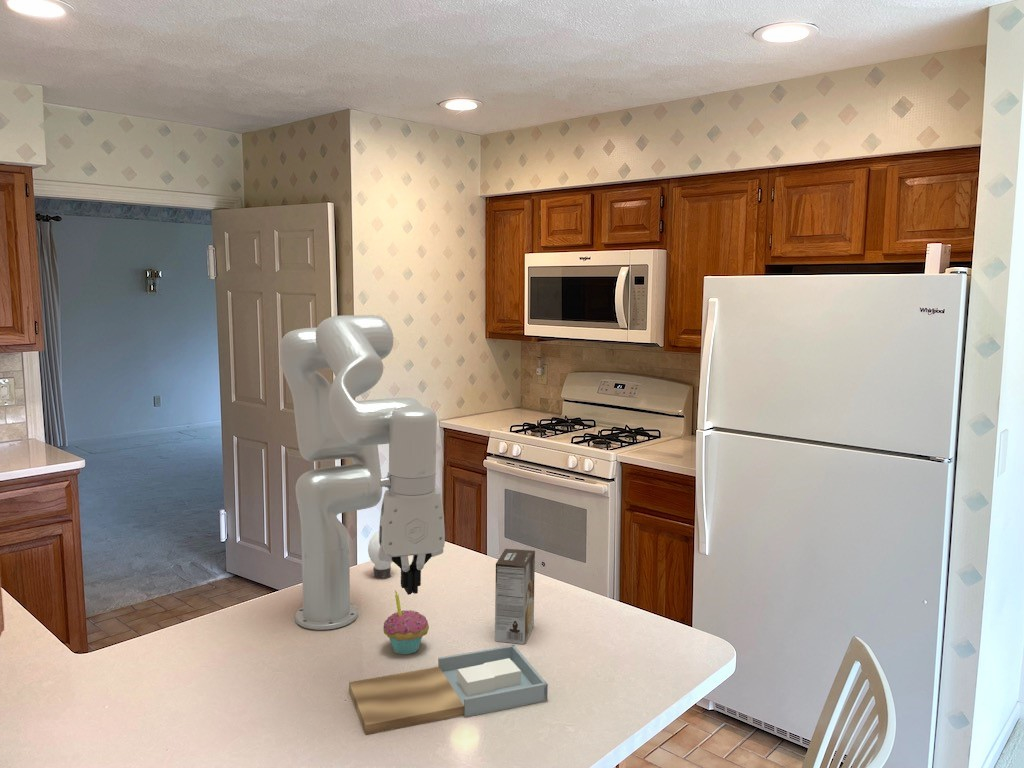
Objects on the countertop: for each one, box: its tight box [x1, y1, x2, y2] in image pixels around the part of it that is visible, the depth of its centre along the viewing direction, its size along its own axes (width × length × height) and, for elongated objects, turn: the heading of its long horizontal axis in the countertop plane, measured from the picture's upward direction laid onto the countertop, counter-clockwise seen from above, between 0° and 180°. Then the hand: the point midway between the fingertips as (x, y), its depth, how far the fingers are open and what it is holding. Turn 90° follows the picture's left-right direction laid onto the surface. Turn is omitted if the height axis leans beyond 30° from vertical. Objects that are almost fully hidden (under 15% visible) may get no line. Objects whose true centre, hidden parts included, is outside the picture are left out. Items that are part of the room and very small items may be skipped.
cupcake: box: [383, 590, 430, 655], centre depth 151 cm, size 9×8×12 cm
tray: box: [437, 644, 549, 718], centre depth 138 cm, size 15×15×3 cm
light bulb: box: [367, 530, 393, 580], centre depth 187 cm, size 7×7×11 cm
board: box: [348, 666, 464, 736], centre depth 132 cm, size 14×16×2 cm
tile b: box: [483, 658, 521, 689], centre depth 139 cm, size 5×5×2 cm
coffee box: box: [494, 548, 536, 645], centre depth 158 cm, size 9×6×16 cm
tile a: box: [457, 664, 495, 696], centre depth 137 cm, size 5×5×2 cm
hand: (410, 590), depth 131 cm, fingers closed
